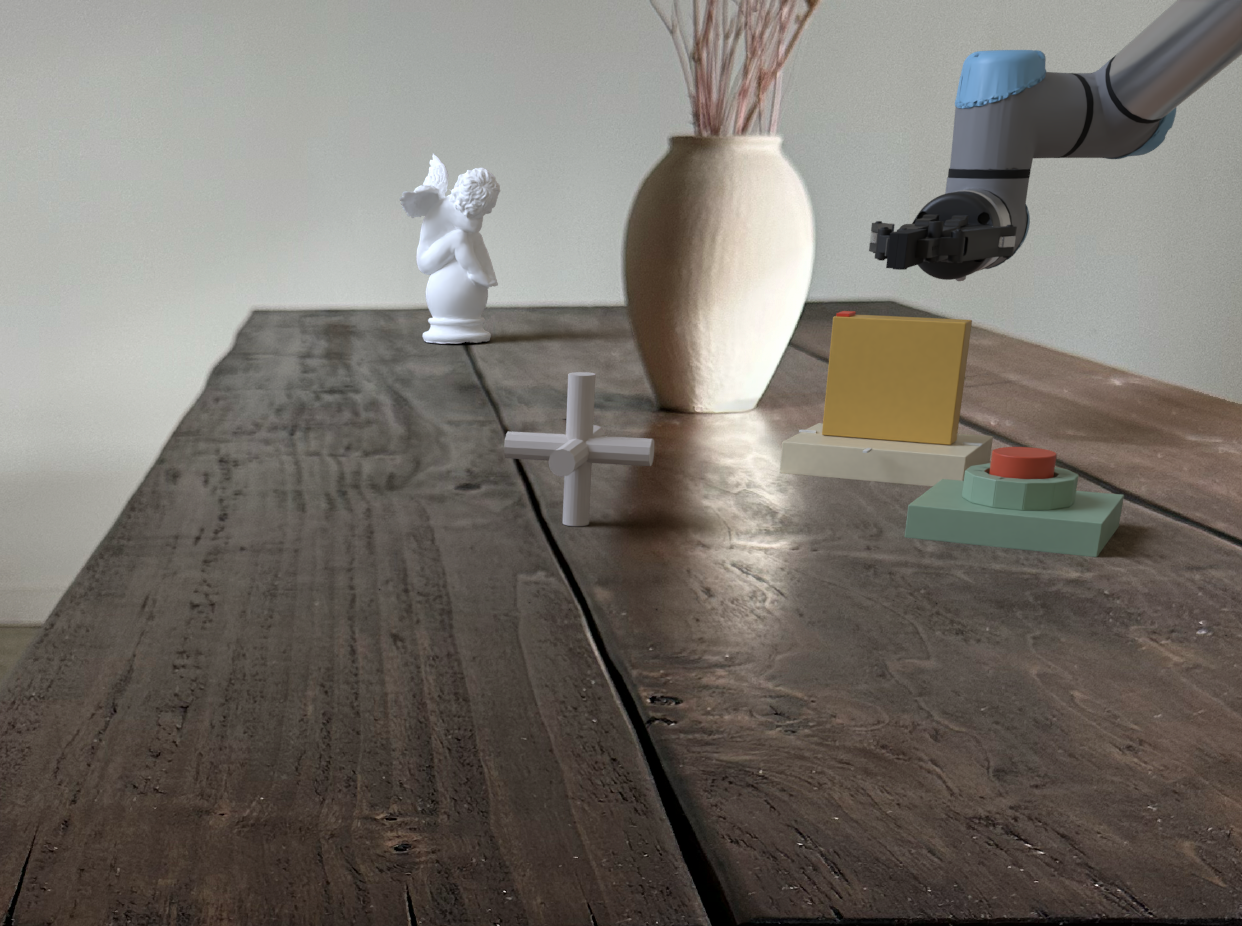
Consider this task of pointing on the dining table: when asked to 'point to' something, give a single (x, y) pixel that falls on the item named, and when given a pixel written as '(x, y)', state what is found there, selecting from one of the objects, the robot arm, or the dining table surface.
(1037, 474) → the button
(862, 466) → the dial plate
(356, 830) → the dining table surface
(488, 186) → the cherub figurine
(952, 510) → the button box
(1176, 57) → the robot arm
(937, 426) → the tan flat block
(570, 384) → the pipe connector
